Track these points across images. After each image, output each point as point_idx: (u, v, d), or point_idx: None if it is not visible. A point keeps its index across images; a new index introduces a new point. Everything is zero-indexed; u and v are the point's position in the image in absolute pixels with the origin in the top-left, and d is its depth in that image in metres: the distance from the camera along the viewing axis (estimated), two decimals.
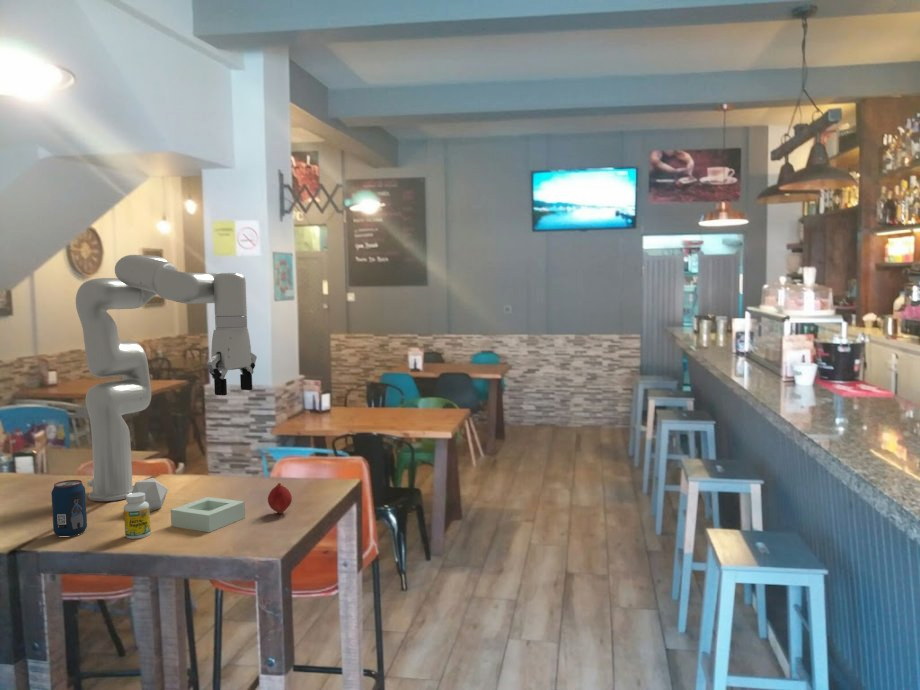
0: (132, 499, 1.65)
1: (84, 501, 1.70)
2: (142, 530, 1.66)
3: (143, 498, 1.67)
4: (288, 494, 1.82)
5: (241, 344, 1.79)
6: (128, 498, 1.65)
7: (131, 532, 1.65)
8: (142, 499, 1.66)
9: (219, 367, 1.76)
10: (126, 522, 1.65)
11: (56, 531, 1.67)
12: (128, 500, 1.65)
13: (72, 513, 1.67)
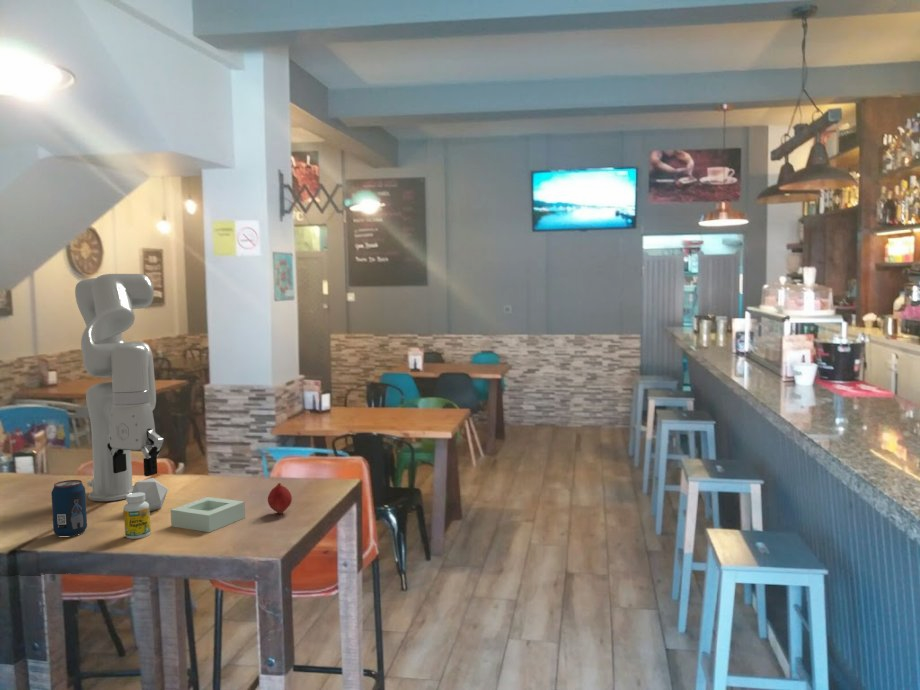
0: (132, 499, 1.65)
1: (84, 501, 1.70)
2: (142, 530, 1.66)
3: (143, 498, 1.67)
4: (288, 494, 1.82)
5: None
6: (128, 498, 1.65)
7: (131, 532, 1.65)
8: (142, 499, 1.66)
9: (147, 445, 1.64)
10: (126, 522, 1.65)
11: (56, 531, 1.67)
12: (128, 500, 1.65)
13: (72, 513, 1.67)
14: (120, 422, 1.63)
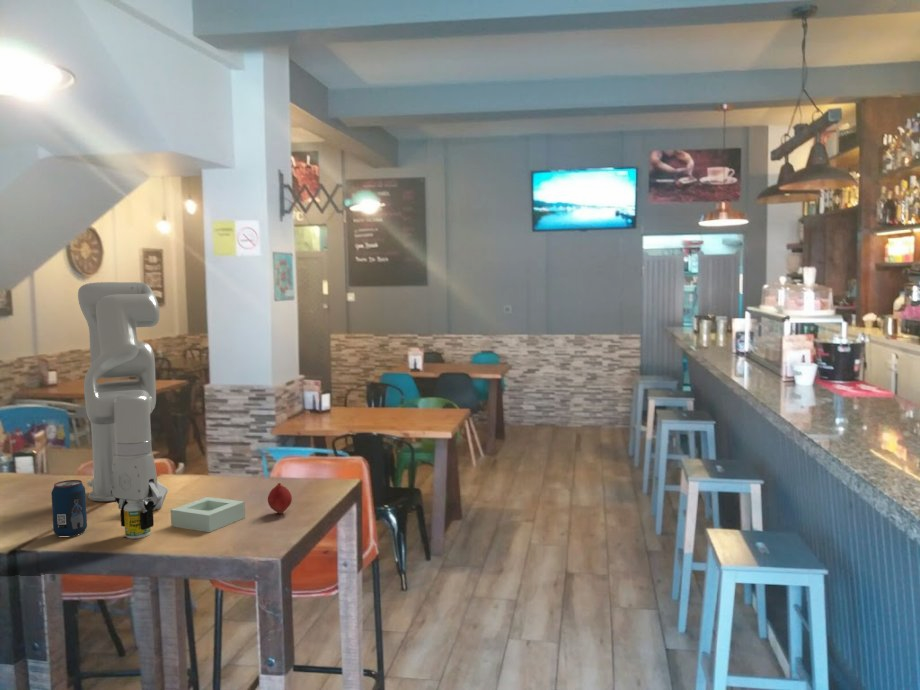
0: None
1: (84, 501, 1.70)
2: (142, 530, 1.66)
3: None
4: (288, 494, 1.82)
5: None
6: None
7: (131, 532, 1.65)
8: None
9: (146, 498, 1.65)
10: (126, 522, 1.65)
11: (56, 531, 1.67)
12: (128, 500, 1.65)
13: (72, 513, 1.67)
14: (122, 472, 1.64)
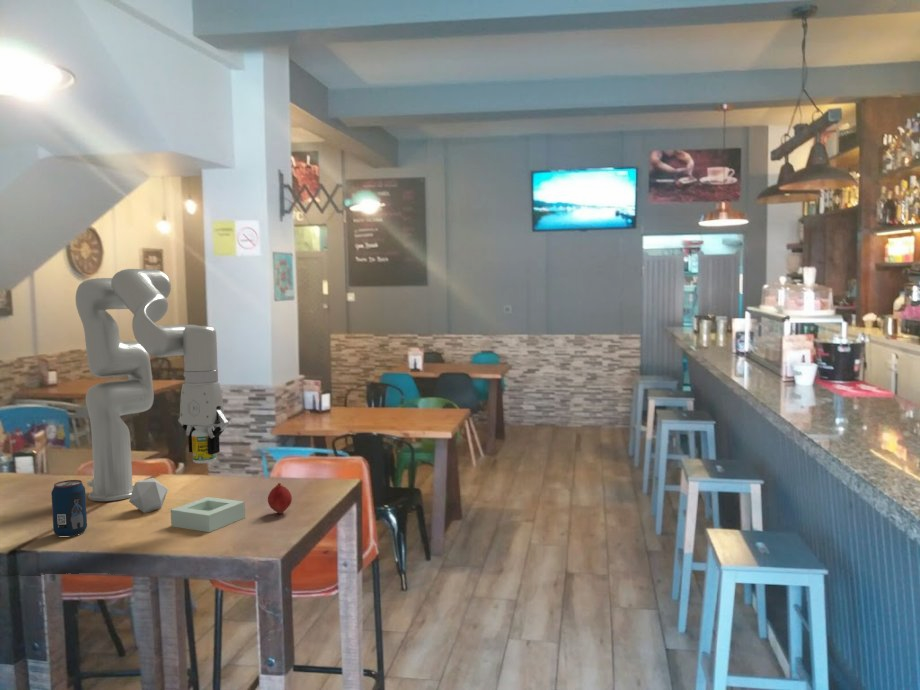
0: None
1: (84, 501, 1.70)
2: (209, 455, 1.74)
3: None
4: (288, 494, 1.82)
5: None
6: None
7: (199, 456, 1.73)
8: None
9: (213, 425, 1.73)
10: (194, 447, 1.73)
11: (56, 531, 1.67)
12: (196, 426, 1.73)
13: (72, 513, 1.67)
14: (191, 399, 1.72)
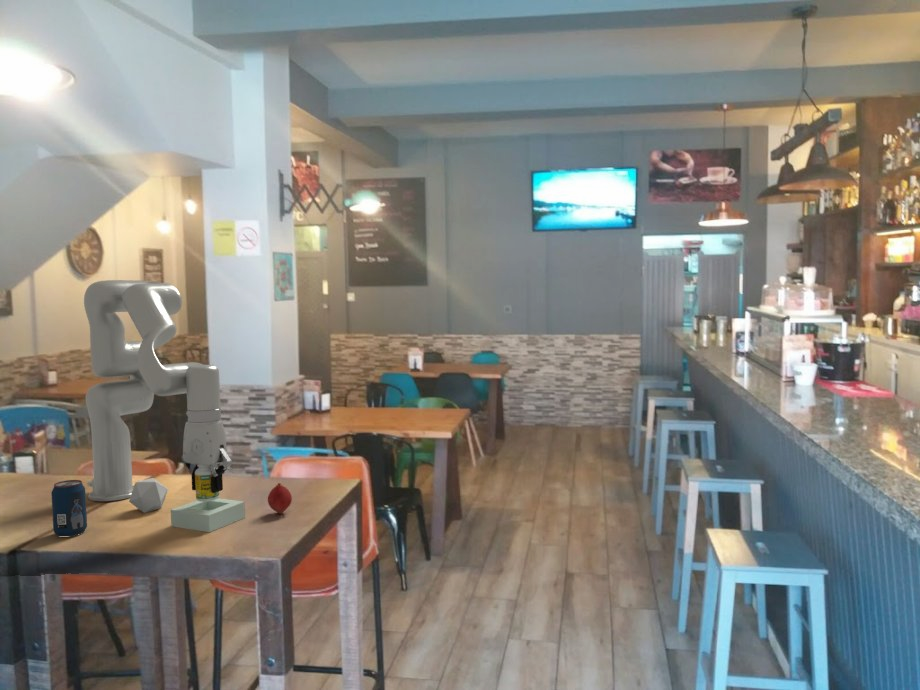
0: None
1: (84, 501, 1.70)
2: (213, 494, 1.75)
3: None
4: (288, 494, 1.82)
5: None
6: None
7: (202, 495, 1.74)
8: None
9: (216, 463, 1.74)
10: (197, 486, 1.74)
11: (56, 531, 1.67)
12: (199, 465, 1.74)
13: (72, 513, 1.67)
14: (194, 438, 1.73)
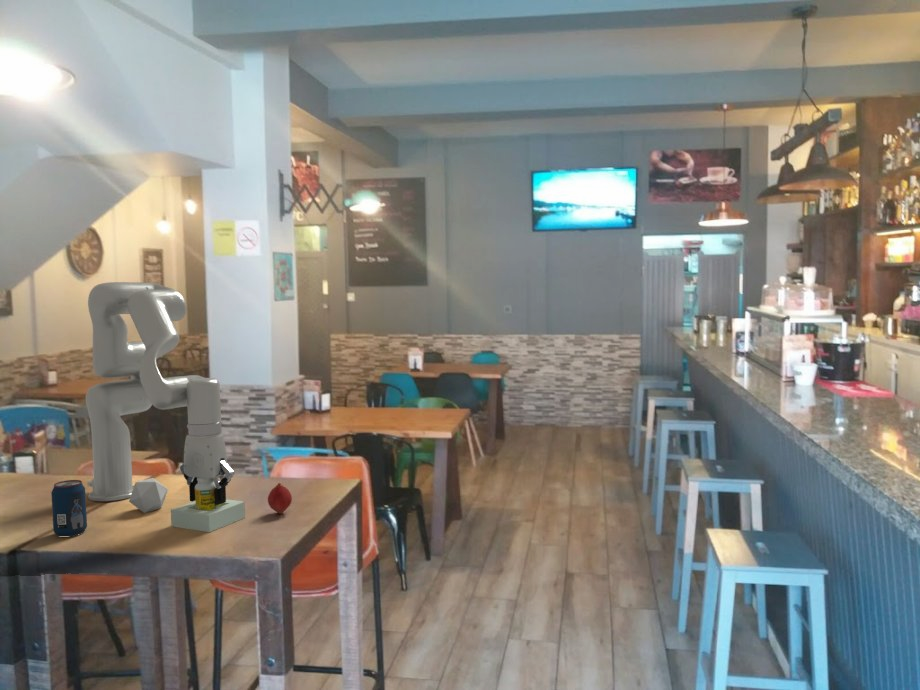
0: (203, 479, 1.74)
1: (84, 501, 1.70)
2: (213, 508, 1.75)
3: None
4: (288, 494, 1.82)
5: None
6: (199, 478, 1.74)
7: None
8: (212, 479, 1.76)
9: (218, 475, 1.74)
10: (197, 500, 1.74)
11: (56, 531, 1.67)
12: (199, 480, 1.75)
13: (72, 513, 1.67)
14: (195, 452, 1.73)
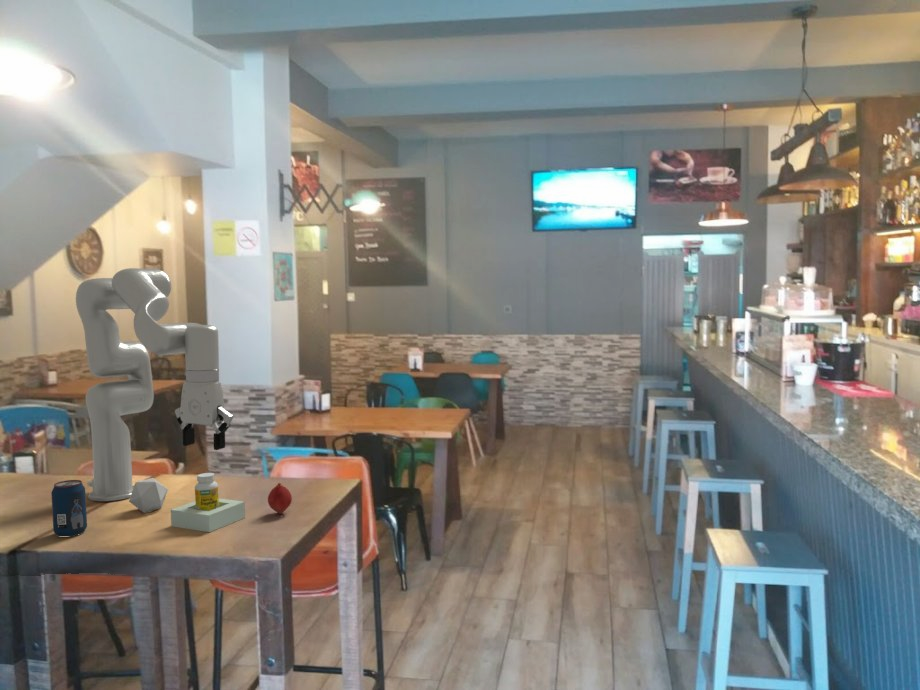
0: (203, 479, 1.74)
1: (84, 501, 1.70)
2: (213, 508, 1.75)
3: (213, 478, 1.76)
4: (288, 494, 1.82)
5: None
6: (199, 478, 1.74)
7: None
8: (212, 479, 1.76)
9: (216, 421, 1.73)
10: (197, 500, 1.74)
11: (56, 531, 1.67)
12: (199, 480, 1.75)
13: (72, 513, 1.67)
14: (192, 398, 1.73)
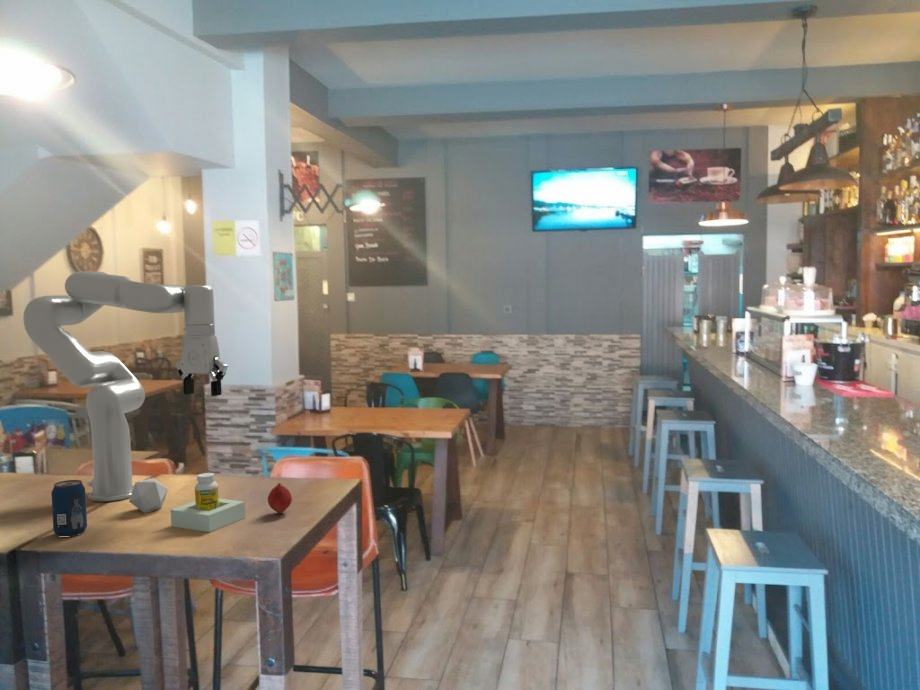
0: (203, 479, 1.74)
1: (84, 501, 1.70)
2: (213, 508, 1.75)
3: (213, 478, 1.76)
4: (288, 494, 1.82)
5: None
6: (199, 478, 1.74)
7: None
8: (212, 479, 1.76)
9: (213, 370, 1.93)
10: (197, 500, 1.74)
11: (56, 531, 1.67)
12: (199, 480, 1.75)
13: (72, 513, 1.67)
14: (191, 350, 1.93)
